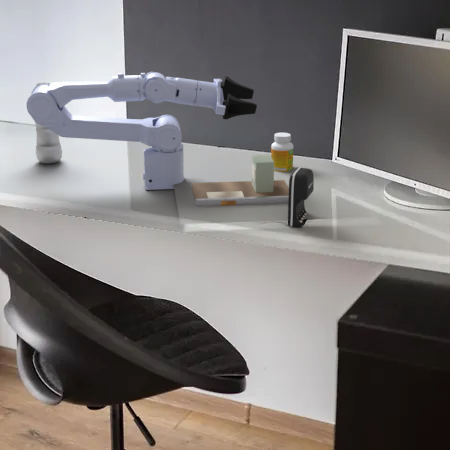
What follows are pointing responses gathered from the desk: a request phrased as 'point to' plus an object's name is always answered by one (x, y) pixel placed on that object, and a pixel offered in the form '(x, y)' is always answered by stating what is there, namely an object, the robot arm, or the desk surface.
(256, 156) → the carton
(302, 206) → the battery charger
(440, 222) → the desk surface
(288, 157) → the supplement bottle
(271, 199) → the shelf board
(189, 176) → the desk surface
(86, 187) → the desk surface
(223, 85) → the robot arm
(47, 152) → the plastic bottle
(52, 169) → the desk surface
